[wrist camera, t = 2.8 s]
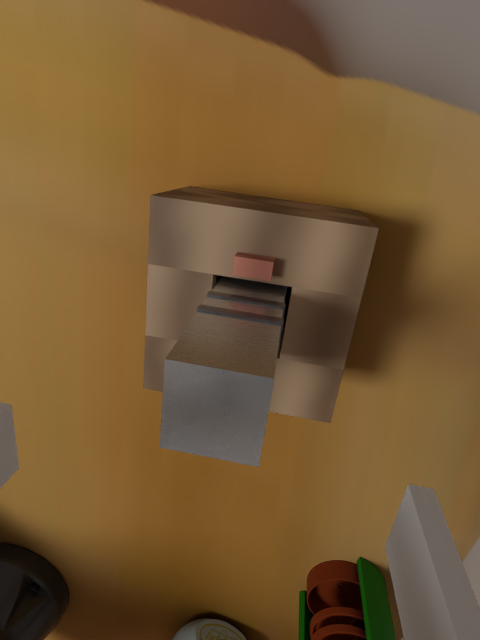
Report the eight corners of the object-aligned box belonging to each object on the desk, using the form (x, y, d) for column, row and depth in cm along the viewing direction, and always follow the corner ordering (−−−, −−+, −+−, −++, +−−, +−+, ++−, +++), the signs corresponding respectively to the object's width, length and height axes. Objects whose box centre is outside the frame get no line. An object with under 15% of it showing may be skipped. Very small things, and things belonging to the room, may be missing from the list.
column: (230, 302, 36) (157, 448, 18) (236, 251, 35) (162, 356, 16) (281, 310, 36) (260, 469, 18) (290, 260, 34) (277, 376, 16)
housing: (177, 339, 39) (137, 396, 29) (187, 186, 33) (143, 196, 24) (324, 364, 38) (331, 433, 28) (359, 210, 32) (382, 231, 23)
